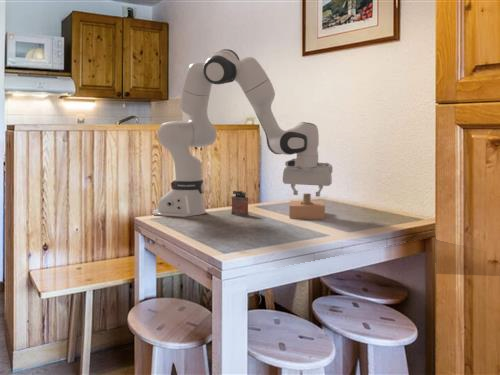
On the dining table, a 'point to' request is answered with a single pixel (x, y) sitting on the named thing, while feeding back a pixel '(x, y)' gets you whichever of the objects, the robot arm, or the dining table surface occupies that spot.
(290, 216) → the block
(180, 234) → the dining table surface
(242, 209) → the lighter
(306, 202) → the key peg
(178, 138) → the robot arm
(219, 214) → the dining table surface
